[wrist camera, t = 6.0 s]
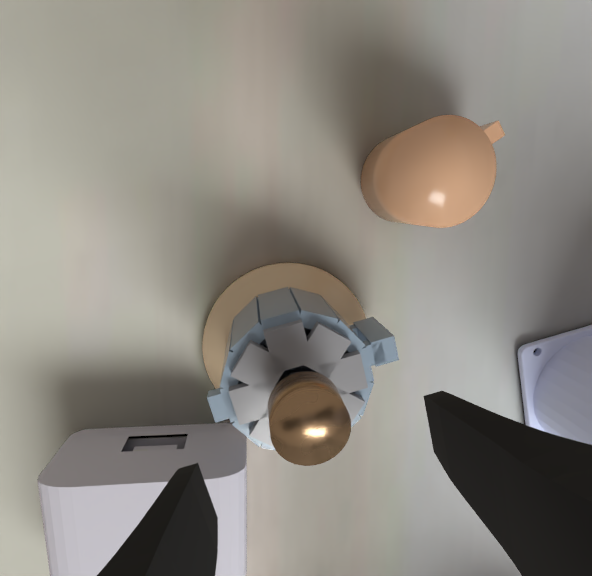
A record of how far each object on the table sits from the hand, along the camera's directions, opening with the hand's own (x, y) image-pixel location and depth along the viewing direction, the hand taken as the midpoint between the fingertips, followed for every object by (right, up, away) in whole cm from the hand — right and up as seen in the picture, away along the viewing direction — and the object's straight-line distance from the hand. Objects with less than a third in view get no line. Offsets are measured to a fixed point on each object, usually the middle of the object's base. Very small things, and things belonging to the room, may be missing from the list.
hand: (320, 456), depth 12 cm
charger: (-8, -10, +12) cm, 17 cm away
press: (-1, +2, +9) cm, 10 cm away
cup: (+5, +11, +8) cm, 14 cm away
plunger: (-1, +2, +8) cm, 9 cm away
